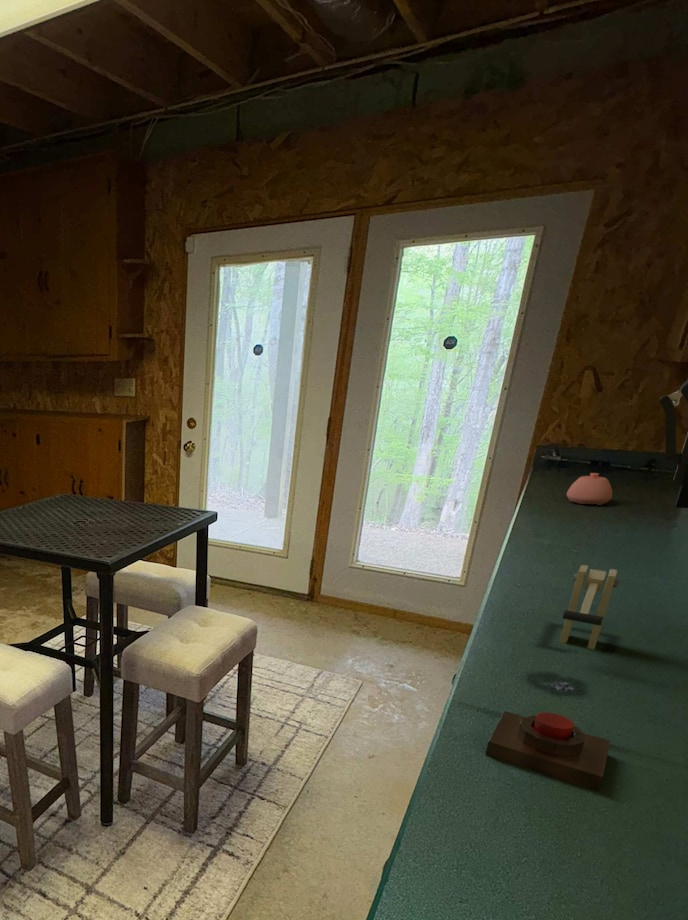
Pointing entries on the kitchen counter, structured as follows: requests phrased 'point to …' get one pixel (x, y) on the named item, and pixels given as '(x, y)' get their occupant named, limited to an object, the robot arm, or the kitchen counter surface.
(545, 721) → the button
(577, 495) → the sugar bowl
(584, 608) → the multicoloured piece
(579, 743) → the brown button housing
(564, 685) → the blueberries
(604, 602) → the light wood frame
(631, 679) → the kitchen counter surface
